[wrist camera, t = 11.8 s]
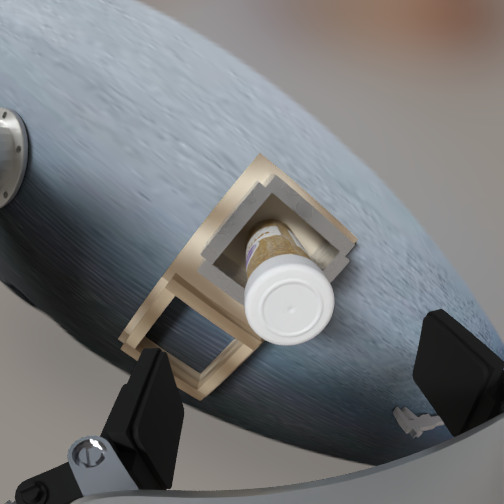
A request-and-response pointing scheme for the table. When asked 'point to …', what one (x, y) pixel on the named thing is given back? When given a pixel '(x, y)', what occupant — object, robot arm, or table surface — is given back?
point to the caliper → (415, 421)
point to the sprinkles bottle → (284, 286)
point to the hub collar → (214, 260)
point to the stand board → (209, 295)
